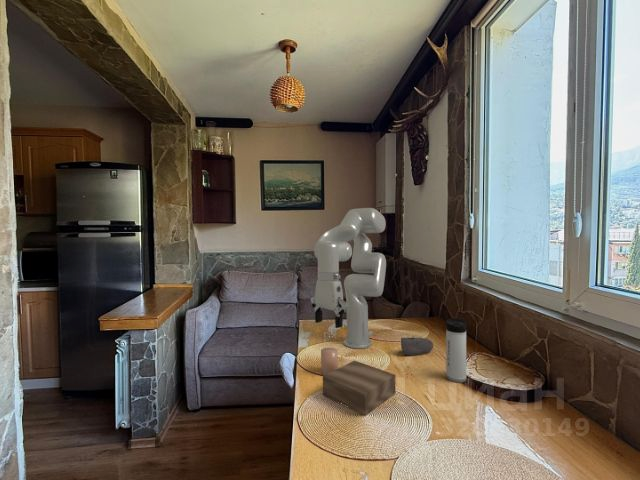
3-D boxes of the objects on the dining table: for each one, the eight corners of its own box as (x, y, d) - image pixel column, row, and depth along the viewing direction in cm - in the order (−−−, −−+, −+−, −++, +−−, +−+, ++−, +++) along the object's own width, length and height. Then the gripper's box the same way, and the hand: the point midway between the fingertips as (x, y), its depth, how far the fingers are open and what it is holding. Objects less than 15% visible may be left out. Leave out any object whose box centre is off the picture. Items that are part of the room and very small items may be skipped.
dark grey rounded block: (430, 350, 132) (430, 334, 132) (436, 355, 127) (436, 338, 127) (396, 353, 130) (396, 336, 129) (402, 358, 124) (402, 340, 124)
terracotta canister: (328, 367, 116) (328, 346, 116) (341, 372, 112) (341, 350, 112) (317, 373, 112) (317, 351, 112) (330, 378, 108) (329, 355, 108)
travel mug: (465, 375, 109) (464, 318, 108) (467, 384, 102) (467, 323, 102) (445, 372, 111) (445, 317, 110) (446, 381, 104) (446, 322, 104)
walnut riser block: (354, 377, 108) (354, 360, 108) (395, 393, 97) (395, 374, 97) (322, 395, 96) (322, 376, 96) (365, 415, 85) (365, 394, 85)
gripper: (354, 277, 108) (354, 327, 108) (318, 274, 120) (318, 318, 120) (340, 280, 102) (340, 332, 103) (304, 275, 114) (304, 322, 115)
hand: (328, 324), depth 111 cm, fingers open, 9 cm apart
